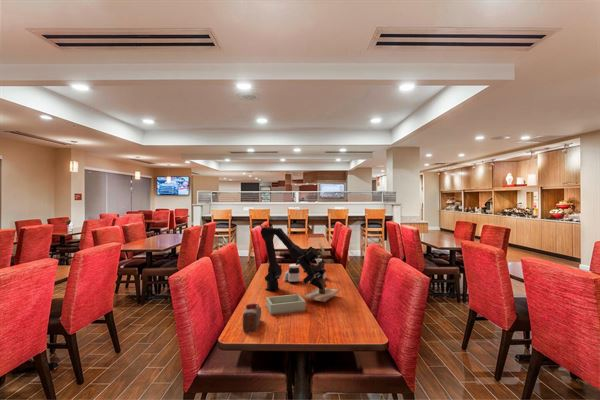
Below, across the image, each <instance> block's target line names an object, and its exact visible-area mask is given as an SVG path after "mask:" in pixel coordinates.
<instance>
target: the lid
mask: <svg viewBox="0 0 600 400" xmlns="http://www.w3.org/2000/svg"><path fill="white" fill-rule="evenodd" d="M319 282H320V284H321V285H322V287H323V289H322V290H321V289H320V288H318V287H316V288H315V289H313V290H311V291H310V292H308V293H307V294H304V295H303V296H304V298H303V299H309V300H314V301H317V302H318V301H319V302H323V303H325V302H327V301H328V300H330V299H331V298H333V297H334V296H335V295H338V294H339V293H340V290H339V289H335V288H328V287H325V284H326V278H325V279H319Z"/></svg>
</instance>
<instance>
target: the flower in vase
mask: <svg viewBox="0 0 600 400" xmlns="http://www.w3.org/2000/svg"><path fill="white" fill-rule="evenodd" d="M318 247H319V250H318V253H319V255H318V256H317V258H315V259H314V260H315V261H316V265H318V263H319V262H321V261H322V262H323V258H320V257H321V256H322V255H321V254H320V250H321V251H322V252H323V253H325V252H326V251H325V248H324V246H323V245H322V243H320V242H319V243H318ZM327 278H328V276H327V274H326V272H325V273H324V275H323V279H325V280H326V279H327Z"/></svg>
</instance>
